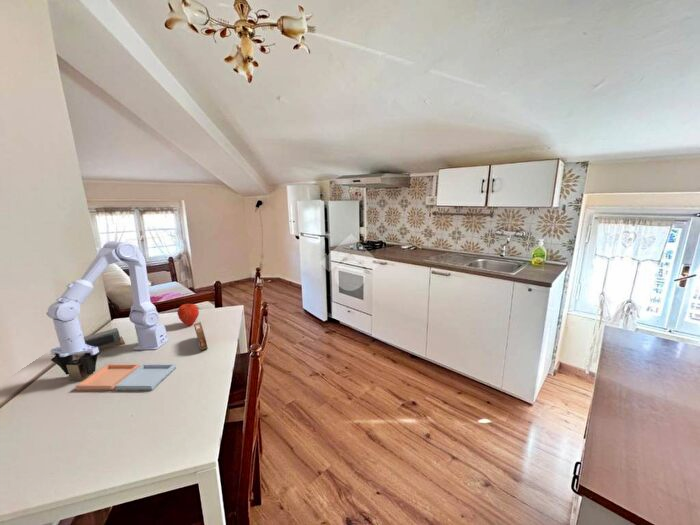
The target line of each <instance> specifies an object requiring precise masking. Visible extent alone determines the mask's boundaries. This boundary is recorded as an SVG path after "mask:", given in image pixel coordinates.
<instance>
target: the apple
mask: <svg viewBox="0 0 700 525" xmlns="http://www.w3.org/2000/svg"><path fill="white" fill-rule="evenodd" d="M177 315H178V319H179V320H180V321H181V322H182V323H183V324H184V325H185V326H186V327H187V326H188V327H193V325H194V324H195V322H196V321H197V319H198V317H199V315H200V311H199V308H198V306H197V305H195V304H194V303H184V304H182V305H180V306H179V307H178V309H177Z"/></svg>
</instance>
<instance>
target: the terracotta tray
mask: <svg viewBox="0 0 700 525" xmlns="http://www.w3.org/2000/svg"><path fill="white" fill-rule="evenodd" d="M140 366H141V364H140V363H108V364H106V365H104V366H103V367H102V368H100V369H99V370H97V371H95V372H93V374H92V375H90V376H89V377H87V378H86V379H84V380H83V381H79V383H78V384H76V385H75V388H76V391H79V392H80V391H84V392H88V391H89V392H91V391H98V392H99V391H101V392H102V391H103V392H107V391H109V392H111V390H113V391H114V390H116V387H115V386H116V385H117V384H118V383H120V382H121V381H122V380H123V379H125V378H126V377H127V376H129V375H130V374H131V373H132V372H134V371H135V370H136V369H138V368H139V367H140Z"/></svg>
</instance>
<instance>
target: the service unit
mask: <svg viewBox="0 0 700 525" xmlns="http://www.w3.org/2000/svg"><path fill="white" fill-rule="evenodd" d="M83 337H84V340H85V344H87V345H90V346H93V347H98V350H99V351H100V352H104V351H107V350H110V349H112V348H116V347H118V346H122V345H126V343H125V340H124V338H123V337H122V335H121V336H120V333H119V330H118V328H117V327H115V328H111V329H108V330H103V331H100V332H98V333H93V334H89V335H85V336H83ZM77 355H78V358H80V357H82V356H84V354H77Z"/></svg>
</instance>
